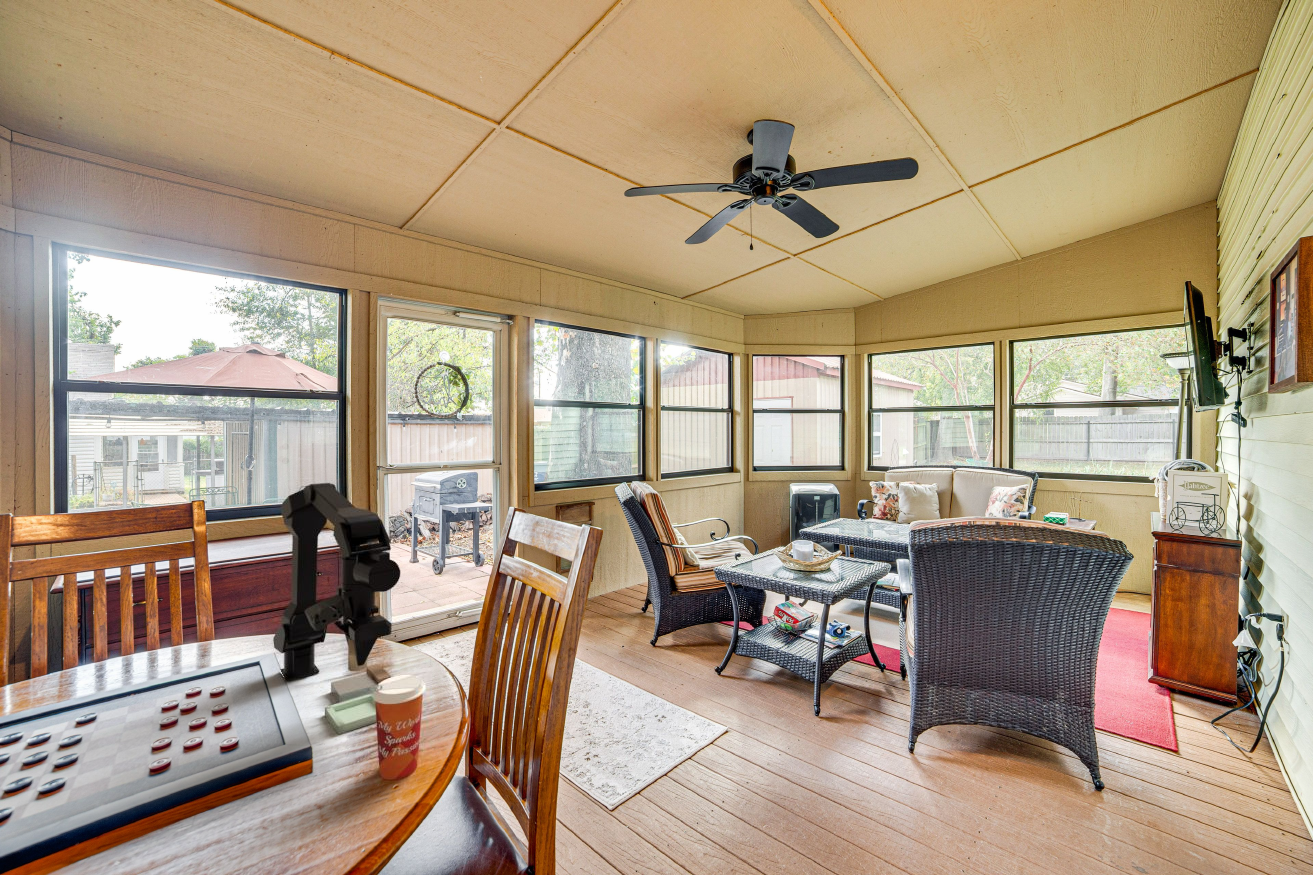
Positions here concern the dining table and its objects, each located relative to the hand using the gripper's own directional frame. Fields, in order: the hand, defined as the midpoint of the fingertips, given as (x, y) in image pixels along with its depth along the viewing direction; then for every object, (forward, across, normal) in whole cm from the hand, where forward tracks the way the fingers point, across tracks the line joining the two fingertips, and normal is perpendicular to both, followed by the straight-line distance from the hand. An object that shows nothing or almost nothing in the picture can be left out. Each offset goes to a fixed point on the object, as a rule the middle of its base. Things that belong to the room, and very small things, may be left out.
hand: (357, 662), depth 107 cm
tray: (+10, 0, 0) cm, 10 cm away
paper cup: (+10, +22, 0) cm, 24 cm away
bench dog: (+10, -10, +7) cm, 16 cm away
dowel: (+1, 0, 0) cm, 1 cm away
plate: (+11, -10, +2) cm, 15 cm away
